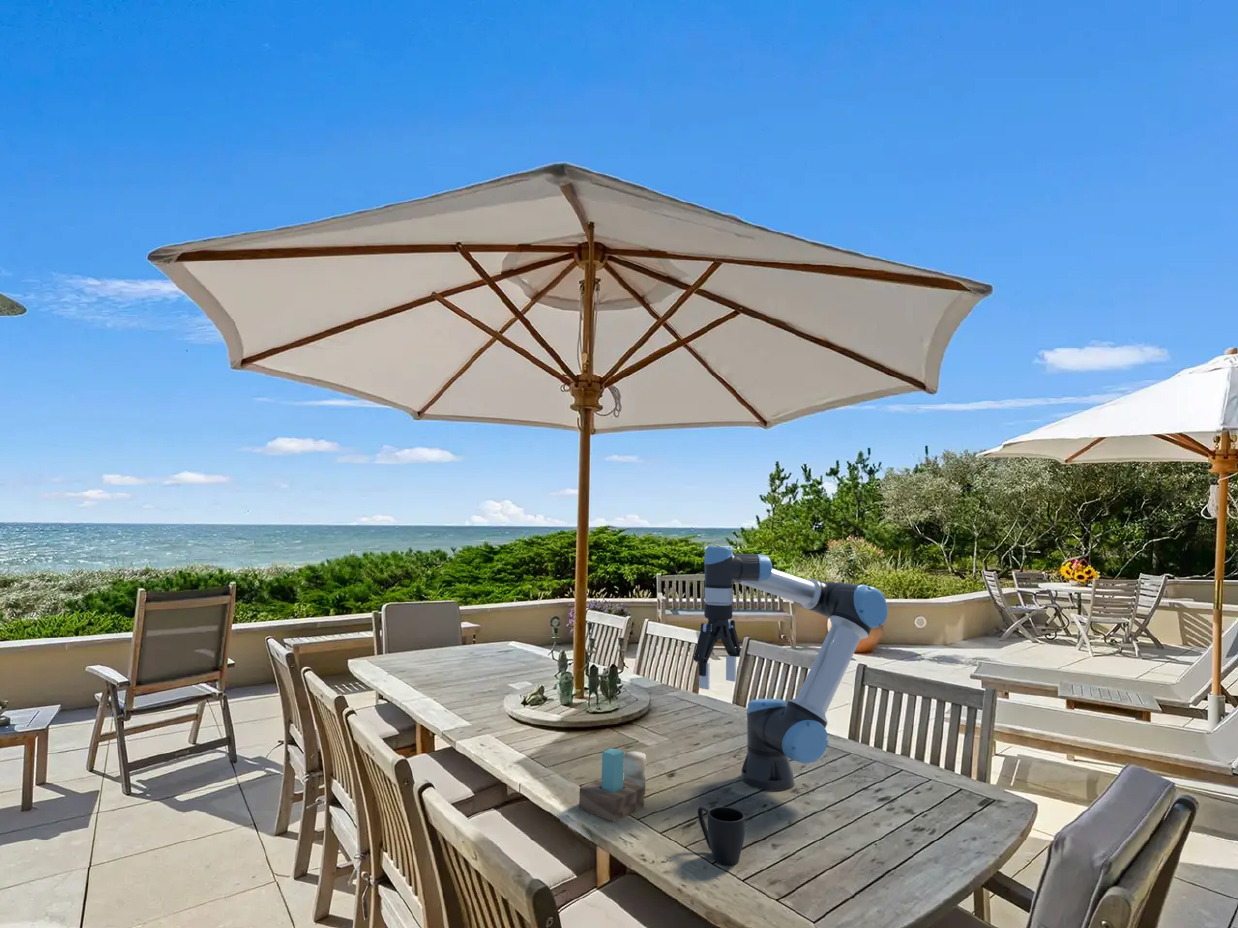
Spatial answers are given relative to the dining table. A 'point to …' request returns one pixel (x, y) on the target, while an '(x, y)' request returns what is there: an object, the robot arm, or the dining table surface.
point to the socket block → (611, 800)
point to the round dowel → (635, 768)
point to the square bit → (612, 770)
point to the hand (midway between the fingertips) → (718, 684)
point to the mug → (723, 833)
